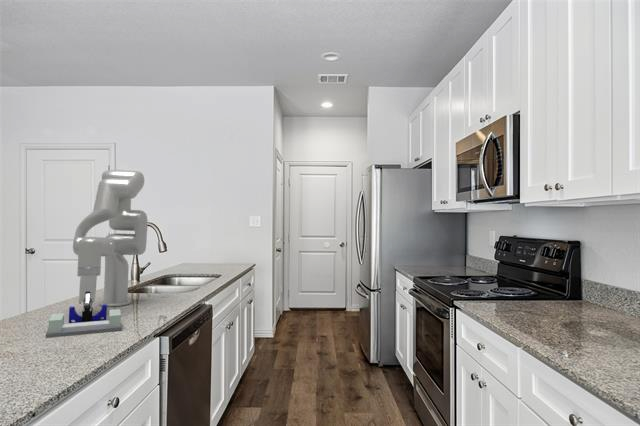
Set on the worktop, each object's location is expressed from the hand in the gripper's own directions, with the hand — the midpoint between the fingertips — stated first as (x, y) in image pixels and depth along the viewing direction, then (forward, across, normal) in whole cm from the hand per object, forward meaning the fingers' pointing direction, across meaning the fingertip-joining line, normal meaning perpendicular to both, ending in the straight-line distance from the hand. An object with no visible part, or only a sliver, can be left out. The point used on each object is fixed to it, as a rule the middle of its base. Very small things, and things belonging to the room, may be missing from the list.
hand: (87, 319), depth 149 cm
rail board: (+1, +12, 0) cm, 12 cm away
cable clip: (+1, 0, 0) cm, 1 cm away
